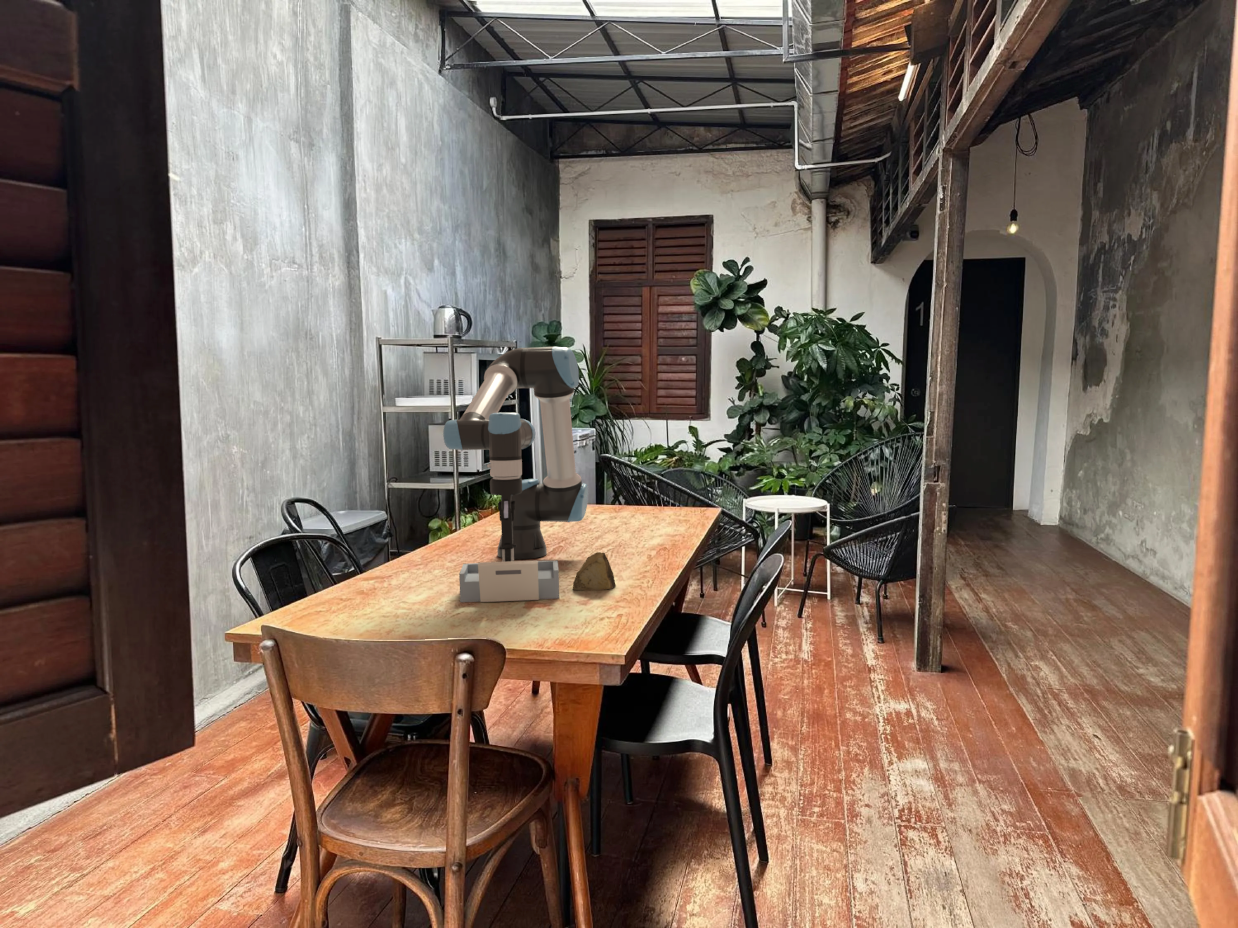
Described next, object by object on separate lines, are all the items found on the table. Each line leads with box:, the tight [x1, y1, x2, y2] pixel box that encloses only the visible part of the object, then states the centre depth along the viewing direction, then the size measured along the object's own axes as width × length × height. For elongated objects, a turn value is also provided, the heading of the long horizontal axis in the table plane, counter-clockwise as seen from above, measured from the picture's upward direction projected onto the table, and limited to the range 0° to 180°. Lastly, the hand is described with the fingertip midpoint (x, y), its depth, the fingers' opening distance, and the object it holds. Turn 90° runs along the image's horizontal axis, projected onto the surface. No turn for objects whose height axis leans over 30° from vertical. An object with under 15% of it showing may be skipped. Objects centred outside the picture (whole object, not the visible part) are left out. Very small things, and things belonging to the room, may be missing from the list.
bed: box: [458, 559, 560, 603], centre depth 212 cm, size 12×24×7 cm, turn 96°
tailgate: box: [477, 560, 540, 603], centre depth 203 cm, size 1×14×11 cm, turn 96°
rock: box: [572, 551, 617, 591], centre depth 218 cm, size 11×9×10 cm
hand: (508, 575), depth 203 cm, fingers closed
